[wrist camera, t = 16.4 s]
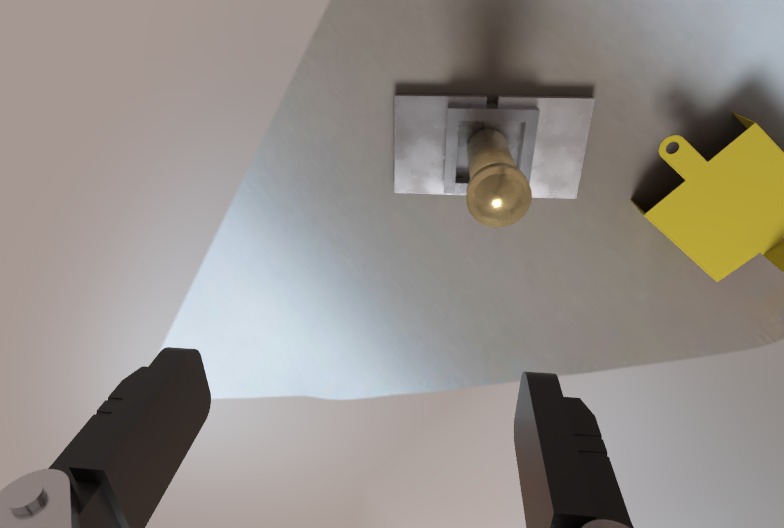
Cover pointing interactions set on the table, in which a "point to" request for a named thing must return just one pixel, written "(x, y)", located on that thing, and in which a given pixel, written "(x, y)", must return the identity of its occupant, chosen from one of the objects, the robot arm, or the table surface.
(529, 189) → the hinge pin
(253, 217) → the table surface
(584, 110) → the grey socket base plate
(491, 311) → the table surface
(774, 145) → the bracket
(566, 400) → the robot arm
